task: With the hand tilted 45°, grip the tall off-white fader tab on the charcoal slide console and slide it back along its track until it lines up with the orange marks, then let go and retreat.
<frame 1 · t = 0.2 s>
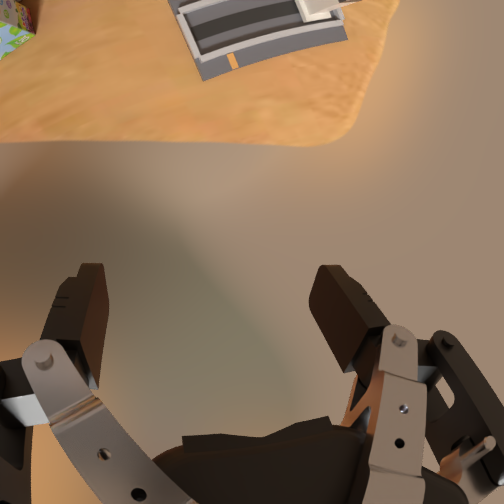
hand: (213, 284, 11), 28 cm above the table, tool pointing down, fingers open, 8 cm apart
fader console: (262, 14, 28), on the table
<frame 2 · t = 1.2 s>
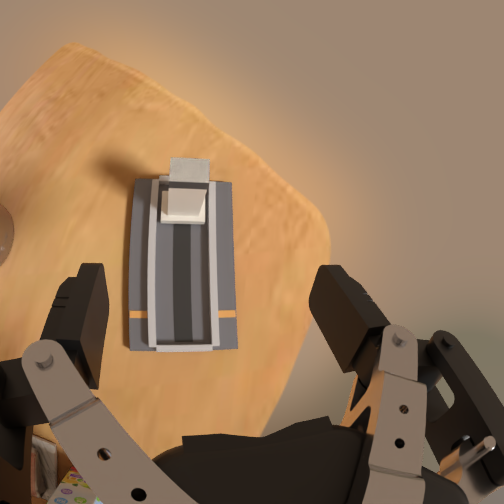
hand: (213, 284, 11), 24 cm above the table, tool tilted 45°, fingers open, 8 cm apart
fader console: (181, 262, 34), on the table
packaged product: (2, 447, 22), on the table
fader tab: (185, 192, 30), point 6 cm above the table, slide at 6.0 cm
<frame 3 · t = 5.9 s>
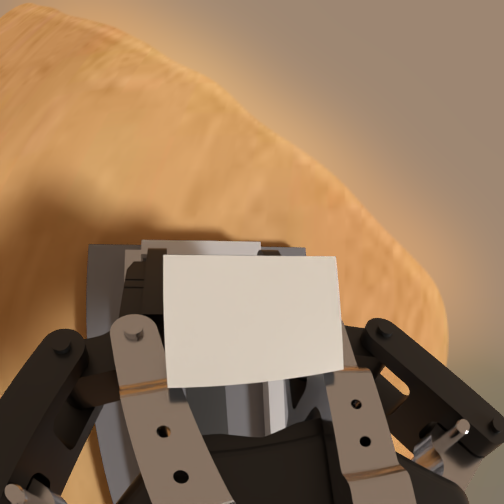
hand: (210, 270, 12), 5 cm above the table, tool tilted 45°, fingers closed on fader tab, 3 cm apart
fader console: (206, 427, 14), on the table
fader tab: (218, 321, 10), point 6 cm above the table, slide at 6.0 cm, touching gripper
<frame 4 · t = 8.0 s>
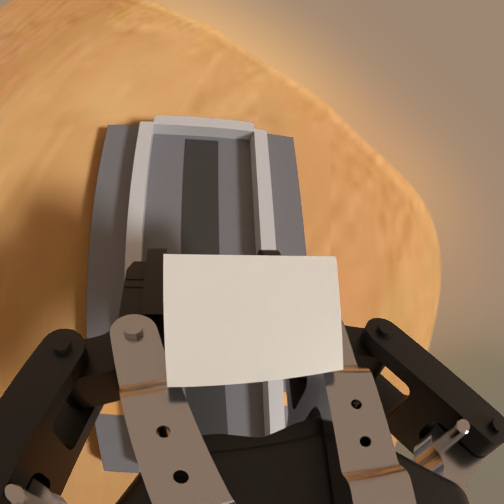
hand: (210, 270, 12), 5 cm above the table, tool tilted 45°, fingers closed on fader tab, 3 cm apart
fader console: (199, 293, 16), on the table
fader tab: (218, 321, 10), point 6 cm above the table, slide at -1.6 cm, touching gripper
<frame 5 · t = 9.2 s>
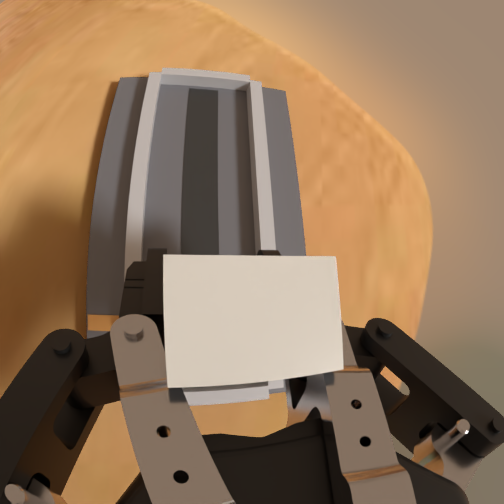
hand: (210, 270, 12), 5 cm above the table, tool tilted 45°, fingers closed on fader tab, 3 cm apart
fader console: (198, 216, 17), on the table
fader tab: (218, 321, 10), point 6 cm above the table, slide at -6.0 cm, touching gripper
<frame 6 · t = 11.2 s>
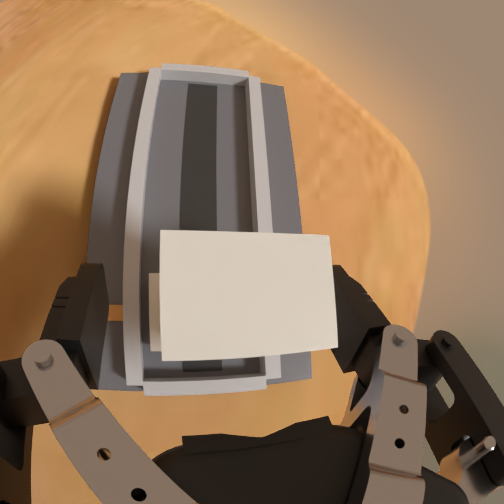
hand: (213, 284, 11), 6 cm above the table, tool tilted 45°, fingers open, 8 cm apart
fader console: (196, 208, 17), on the table
fader tab: (215, 307, 10), point 6 cm above the table, slide at -6.0 cm
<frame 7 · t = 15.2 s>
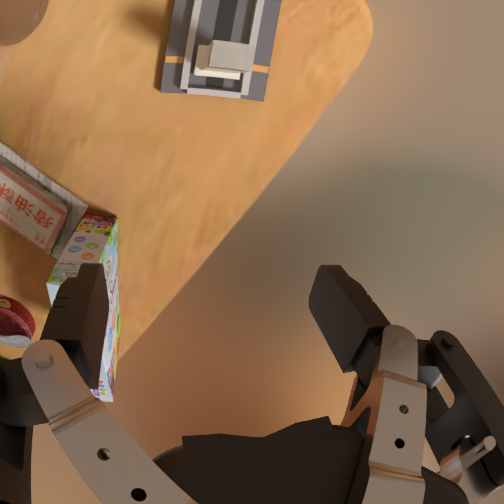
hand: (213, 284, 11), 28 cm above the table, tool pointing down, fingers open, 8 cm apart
canned food: (13, 316, 41), on the table
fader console: (224, 18, 27), on the table
packaged product: (26, 196, 32), on the table
snack box: (102, 278, 41), on the table
fader tab: (224, 59, 25), point 6 cm above the table, slide at -6.0 cm
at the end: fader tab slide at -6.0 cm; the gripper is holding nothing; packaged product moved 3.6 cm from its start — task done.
